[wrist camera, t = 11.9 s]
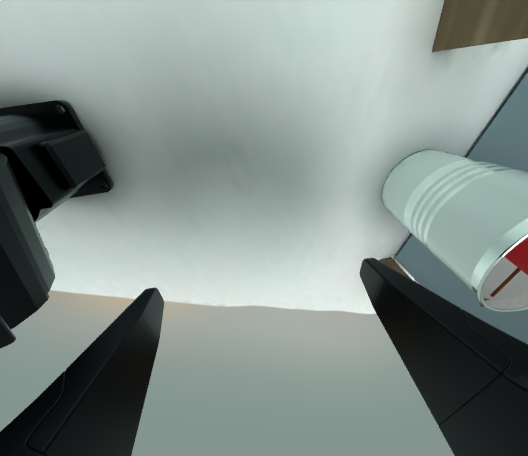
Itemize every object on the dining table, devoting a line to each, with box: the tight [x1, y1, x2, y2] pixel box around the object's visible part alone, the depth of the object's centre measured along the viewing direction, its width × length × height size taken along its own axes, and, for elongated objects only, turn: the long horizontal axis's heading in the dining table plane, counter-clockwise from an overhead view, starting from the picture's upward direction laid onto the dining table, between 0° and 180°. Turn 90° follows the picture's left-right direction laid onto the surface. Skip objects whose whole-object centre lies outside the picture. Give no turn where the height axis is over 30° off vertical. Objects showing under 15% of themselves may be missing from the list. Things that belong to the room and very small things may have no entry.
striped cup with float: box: [382, 150, 528, 312], centre depth 17 cm, size 10×8×12 cm
